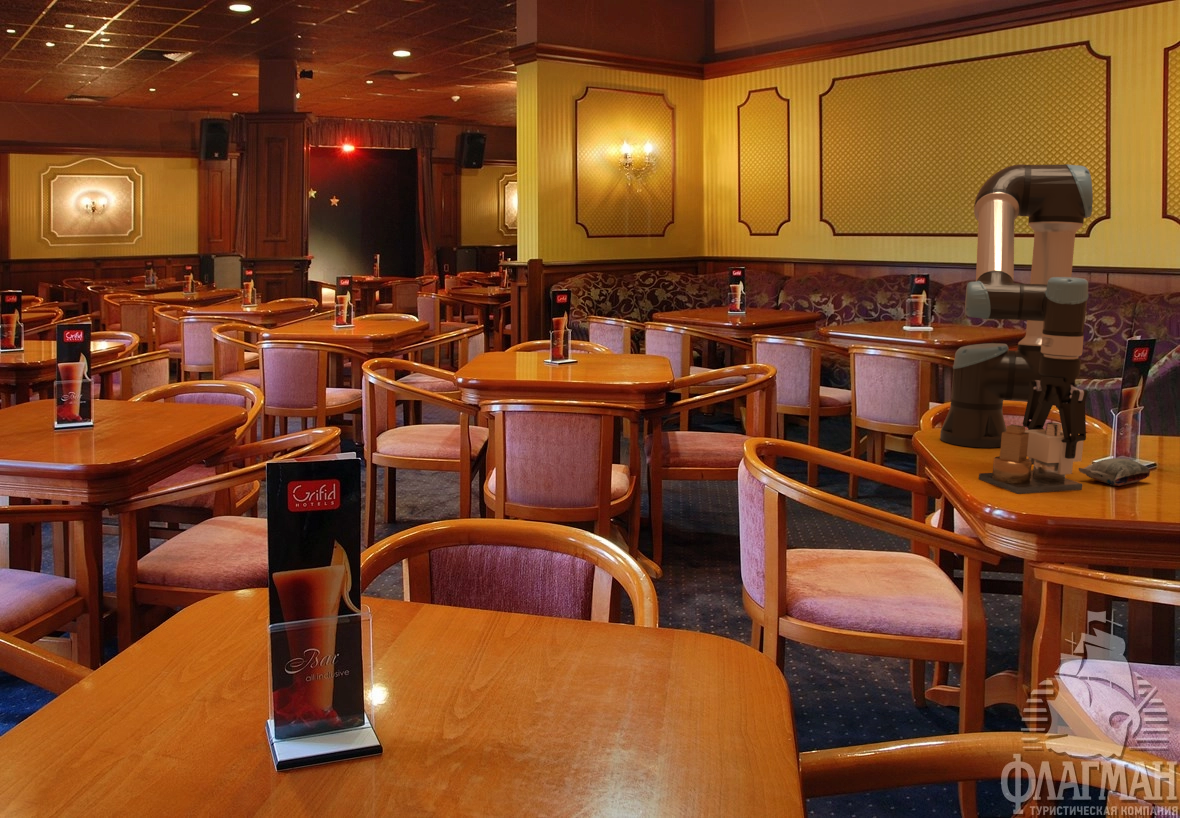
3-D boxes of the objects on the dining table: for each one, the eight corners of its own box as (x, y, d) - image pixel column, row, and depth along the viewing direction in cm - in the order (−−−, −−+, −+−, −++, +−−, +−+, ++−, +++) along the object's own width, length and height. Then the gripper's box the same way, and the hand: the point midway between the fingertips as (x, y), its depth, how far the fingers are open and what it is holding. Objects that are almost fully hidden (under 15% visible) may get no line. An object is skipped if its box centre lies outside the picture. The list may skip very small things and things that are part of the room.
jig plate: (1040, 475, 224) (1041, 469, 224) (1082, 489, 213) (1082, 483, 213) (978, 479, 220) (979, 473, 220) (1017, 493, 209) (1018, 487, 208)
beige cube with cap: (1020, 454, 219) (1022, 430, 218) (1053, 452, 222) (1056, 428, 221) (1047, 463, 212) (1050, 438, 211) (1081, 461, 214) (1084, 436, 213)
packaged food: (1077, 481, 221) (1079, 457, 220) (1111, 475, 227) (1114, 452, 226) (1117, 491, 213) (1120, 466, 212) (1151, 484, 220) (1154, 460, 219)
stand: (1036, 472, 221) (1041, 419, 219) (1067, 476, 218) (1072, 423, 216) (1029, 478, 216) (1035, 424, 215) (1062, 482, 213) (1067, 427, 211)
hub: (986, 479, 215) (991, 425, 213) (1001, 473, 220) (1005, 421, 218) (1021, 485, 210) (1026, 431, 208) (1035, 479, 215) (1040, 426, 213)
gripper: (1010, 349, 222) (1000, 458, 226) (1082, 363, 202) (1070, 482, 206) (1040, 349, 224) (1030, 456, 228) (1115, 363, 204) (1102, 480, 208)
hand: (1049, 468), depth 217 cm, fingers closed on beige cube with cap, 8 cm apart
